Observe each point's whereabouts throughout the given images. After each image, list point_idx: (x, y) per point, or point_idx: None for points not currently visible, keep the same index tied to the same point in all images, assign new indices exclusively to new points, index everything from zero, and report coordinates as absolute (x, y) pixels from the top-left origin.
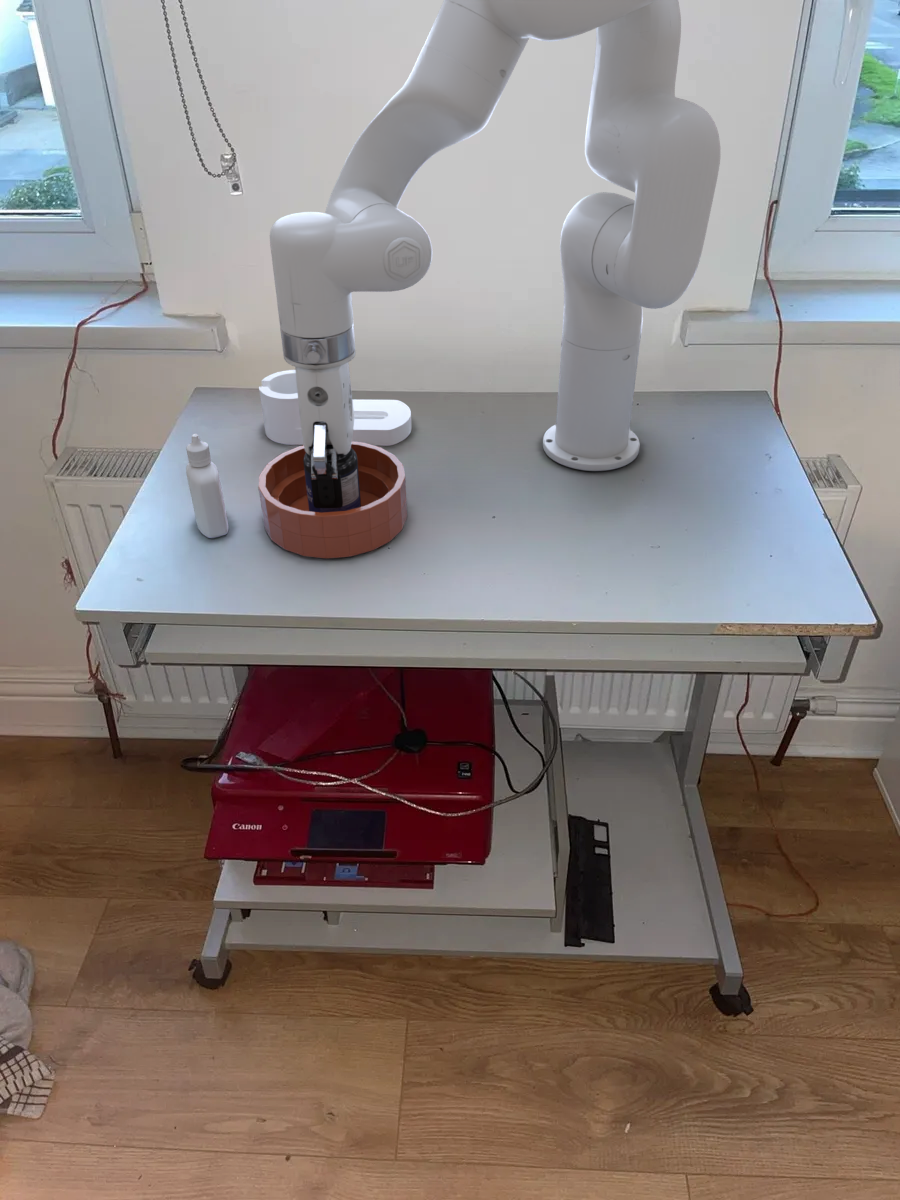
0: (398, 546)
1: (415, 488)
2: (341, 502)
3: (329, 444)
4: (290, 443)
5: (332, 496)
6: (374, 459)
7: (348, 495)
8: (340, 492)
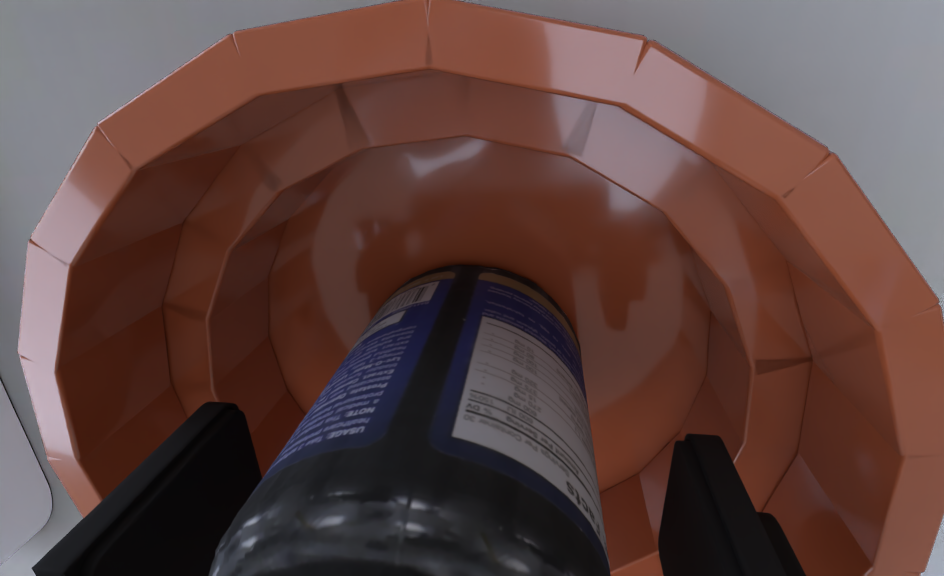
0: (719, 66)
1: (191, 3)
2: (729, 458)
3: None
4: (42, 484)
5: (794, 562)
6: (134, 254)
7: (563, 393)
8: (759, 522)
